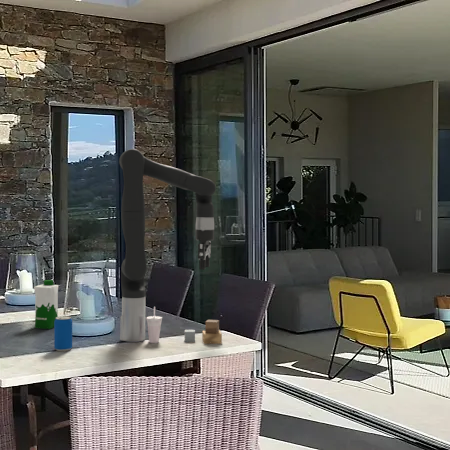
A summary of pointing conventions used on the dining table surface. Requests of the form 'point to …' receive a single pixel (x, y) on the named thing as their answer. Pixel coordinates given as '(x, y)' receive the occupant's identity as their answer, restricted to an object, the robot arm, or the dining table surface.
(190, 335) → the slate-grey cube
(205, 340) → the teak block
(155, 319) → the smoothie
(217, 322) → the walnut cube
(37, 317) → the milk carton
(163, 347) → the dining table surface
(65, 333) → the beverage can
